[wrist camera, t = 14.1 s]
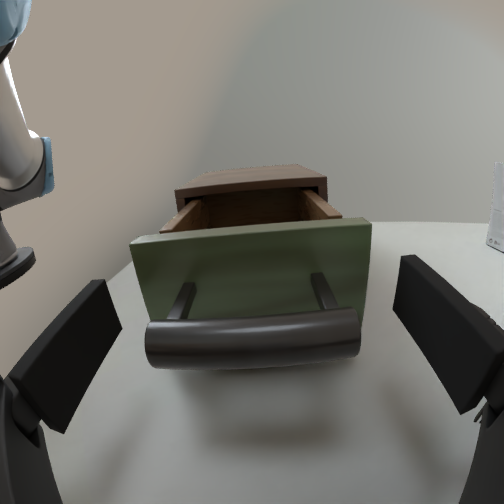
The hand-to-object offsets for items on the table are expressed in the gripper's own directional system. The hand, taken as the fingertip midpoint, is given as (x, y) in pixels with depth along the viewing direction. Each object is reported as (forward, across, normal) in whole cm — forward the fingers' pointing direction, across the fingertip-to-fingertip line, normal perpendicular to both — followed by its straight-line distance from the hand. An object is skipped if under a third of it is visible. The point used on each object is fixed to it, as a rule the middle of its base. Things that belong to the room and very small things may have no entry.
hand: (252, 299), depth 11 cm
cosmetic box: (+16, +36, -7) cm, 40 cm away
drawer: (+6, 0, -5) cm, 8 cm away
